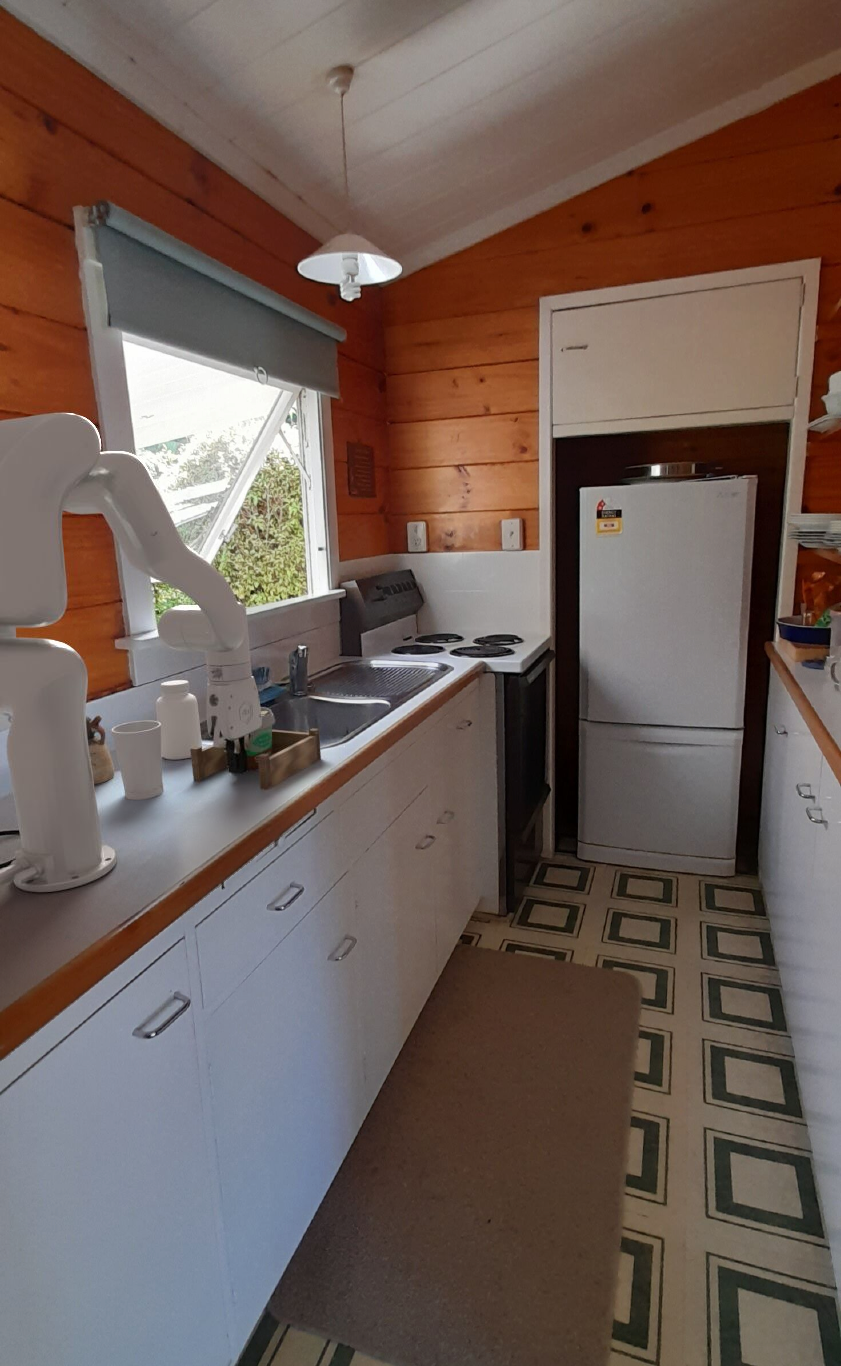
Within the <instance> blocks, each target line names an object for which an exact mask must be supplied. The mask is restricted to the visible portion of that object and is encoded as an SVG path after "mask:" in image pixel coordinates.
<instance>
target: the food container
mask: <svg viewBox="0 0 841 1366" xmlns="http://www.w3.org/2000/svg"><path fill="white" fill-rule="evenodd" d="M260 708H261V716H262V726H261V727H260V728H259V729H258V730H257V731H256V732H255V733H254V734H253V735H252V736H251V737H250V739H249V747H248V749H247V750H246V751H247V761H248V771H247V772H254V771H259V766H258V755H260V754H269V757H270V756H272V730H273V726H274V725H275V723H276V718H275V715H274V712H272V709H270V708H268V707H265V706H260ZM231 742H232V741H231Z"/></svg>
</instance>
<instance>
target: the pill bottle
mask: <svg viewBox="0 0 841 1366" xmlns="http://www.w3.org/2000/svg"><path fill="white" fill-rule="evenodd" d="M189 689H190V683H189V681H188V680H183V679H180V680H179V679H177V680H168V681H164V682H162V683H161V684H160V691H161V692H160V693H161V695H162V696H159V698H157V700H156V701H155V711H156V721H157V722H160V723H161V757H163V759H166V760H174V761H175V760H176V761H177V760H185V759H189V758H190V759H191V751H190V749H191V748H193V747H195V746H196V747H202V748H203V742H202V735H201V734H202V733H201V725H200V723H201V722H200V716H199V707H198V706H199V705H198V699H197V697H196V696H195V695H194V694H192V693H191V692H190V690H189ZM189 692H190V693H189Z"/></svg>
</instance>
